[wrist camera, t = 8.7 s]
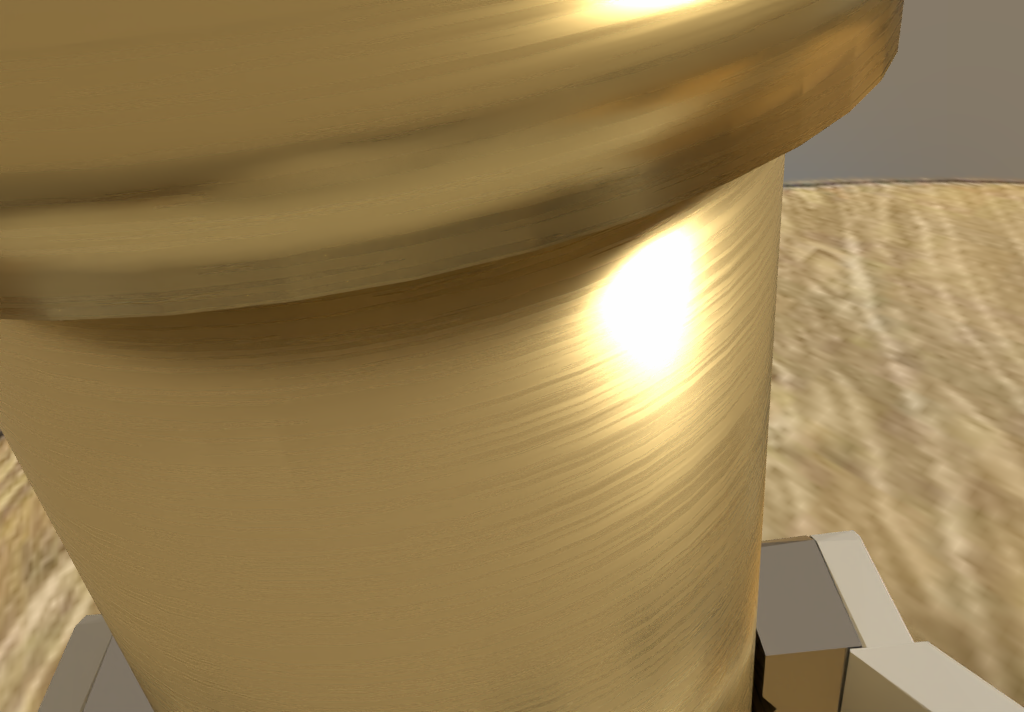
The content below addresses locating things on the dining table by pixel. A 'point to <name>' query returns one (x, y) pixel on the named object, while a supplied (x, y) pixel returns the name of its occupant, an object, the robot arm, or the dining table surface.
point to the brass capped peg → (410, 335)
